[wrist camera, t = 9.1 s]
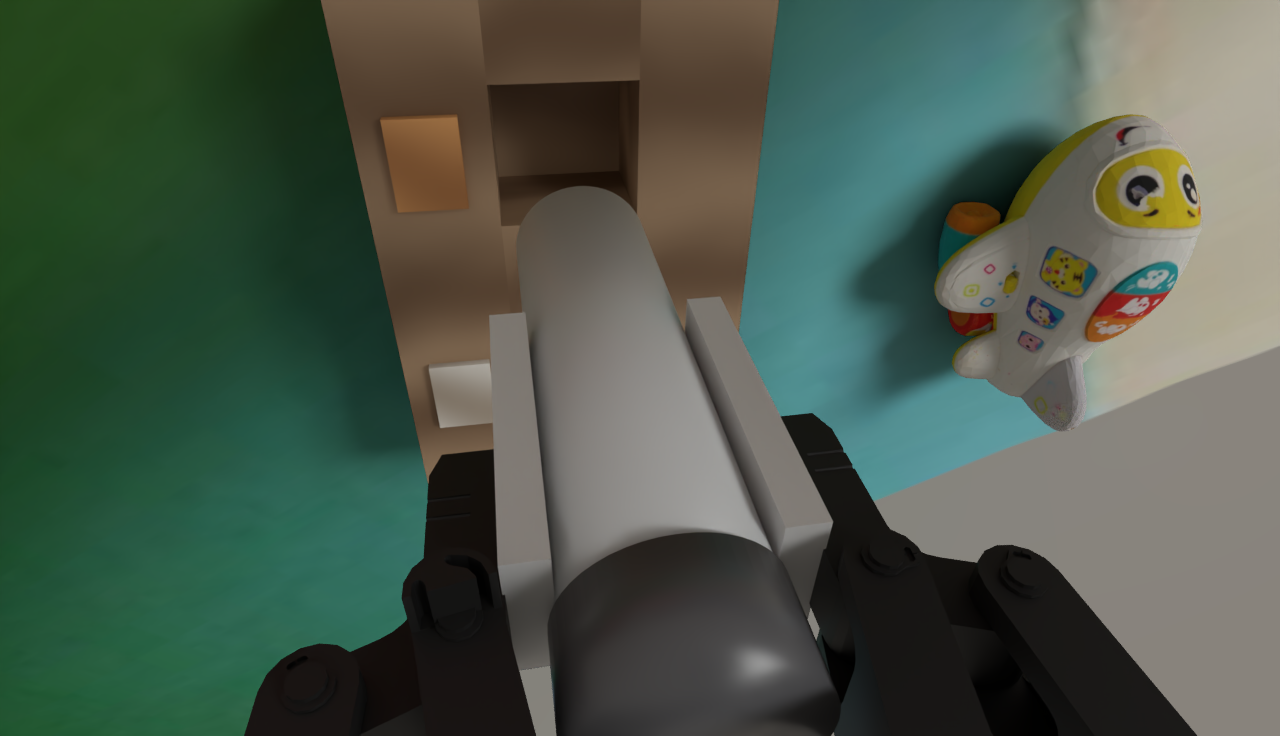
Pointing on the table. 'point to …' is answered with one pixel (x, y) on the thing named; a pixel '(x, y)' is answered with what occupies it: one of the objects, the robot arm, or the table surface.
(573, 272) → the plug
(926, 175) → the table surface
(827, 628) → the robot arm
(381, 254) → the socket block
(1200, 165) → the table surface
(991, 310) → the toy airplane
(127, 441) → the table surface
